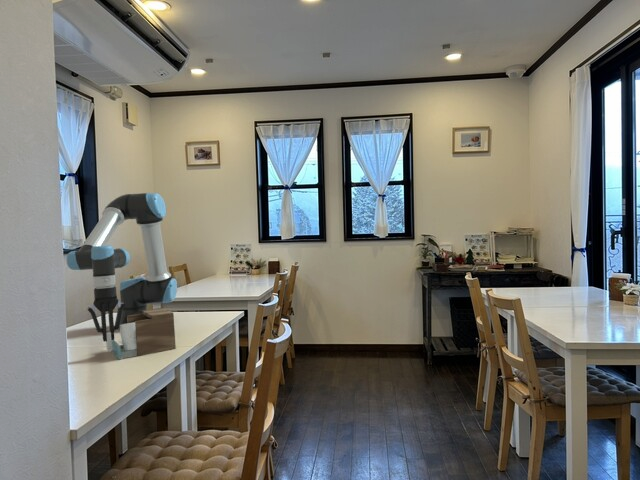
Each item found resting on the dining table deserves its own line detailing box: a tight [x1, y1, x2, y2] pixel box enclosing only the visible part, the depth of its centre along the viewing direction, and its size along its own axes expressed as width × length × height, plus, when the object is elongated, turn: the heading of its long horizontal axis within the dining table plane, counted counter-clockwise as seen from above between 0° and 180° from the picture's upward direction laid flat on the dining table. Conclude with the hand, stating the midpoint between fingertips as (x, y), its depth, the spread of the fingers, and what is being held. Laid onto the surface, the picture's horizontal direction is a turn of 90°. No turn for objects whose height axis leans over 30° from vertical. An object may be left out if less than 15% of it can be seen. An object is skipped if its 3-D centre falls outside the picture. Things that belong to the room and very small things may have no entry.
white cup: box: [119, 322, 137, 351], centre depth 174 cm, size 8×8×10 cm
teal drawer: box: [110, 339, 138, 360], centre depth 176 cm, size 14×13×5 cm
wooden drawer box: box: [127, 307, 177, 357], centre depth 179 cm, size 15×14×14 cm
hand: (109, 349), depth 171 cm, fingers closed
